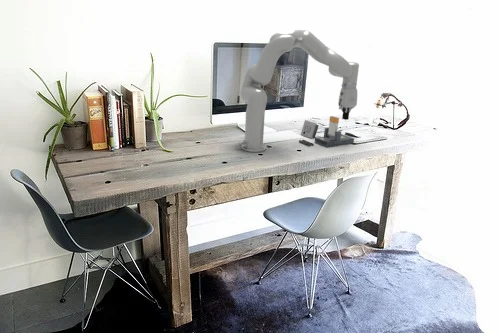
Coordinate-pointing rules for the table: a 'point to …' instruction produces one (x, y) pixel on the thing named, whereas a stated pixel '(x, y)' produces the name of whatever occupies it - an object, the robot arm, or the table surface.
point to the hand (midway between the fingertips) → (345, 119)
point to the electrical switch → (309, 129)
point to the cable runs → (306, 143)
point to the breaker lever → (333, 126)
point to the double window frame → (332, 142)
